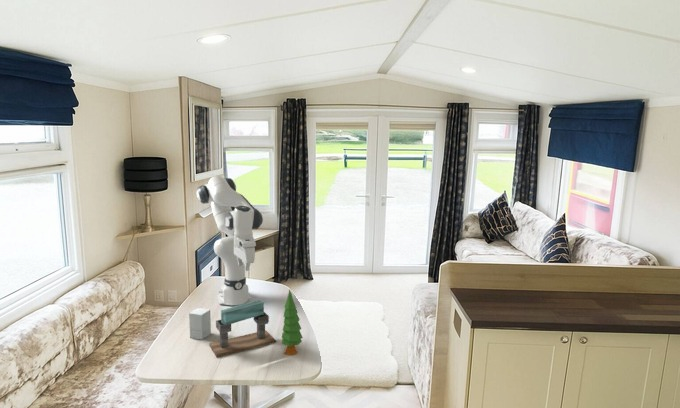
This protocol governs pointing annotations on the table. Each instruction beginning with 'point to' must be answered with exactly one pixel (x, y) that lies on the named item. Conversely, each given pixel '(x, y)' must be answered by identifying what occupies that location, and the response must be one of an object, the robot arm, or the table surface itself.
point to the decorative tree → (291, 327)
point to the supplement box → (200, 323)
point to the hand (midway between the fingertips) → (243, 267)
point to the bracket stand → (241, 338)
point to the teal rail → (242, 312)
